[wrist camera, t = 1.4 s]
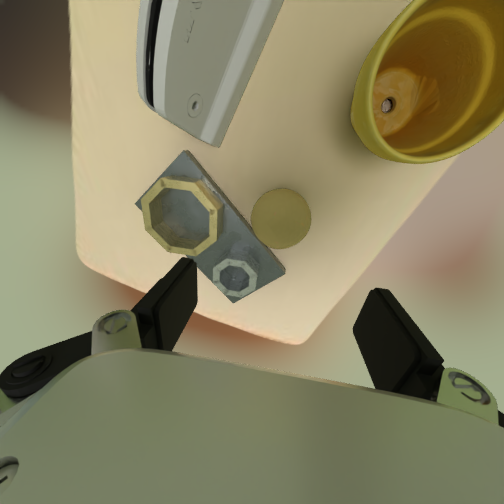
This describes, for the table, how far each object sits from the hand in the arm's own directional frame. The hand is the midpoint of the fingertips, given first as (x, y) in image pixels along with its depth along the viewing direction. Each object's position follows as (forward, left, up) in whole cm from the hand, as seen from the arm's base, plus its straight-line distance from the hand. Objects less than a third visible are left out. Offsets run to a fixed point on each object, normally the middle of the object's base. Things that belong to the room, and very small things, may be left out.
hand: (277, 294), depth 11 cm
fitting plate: (+11, -2, -20) cm, 22 cm away
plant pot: (-15, -2, -20) cm, 25 cm away
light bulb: (0, 0, -20) cm, 20 cm away
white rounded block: (-4, -17, -20) cm, 27 cm away
